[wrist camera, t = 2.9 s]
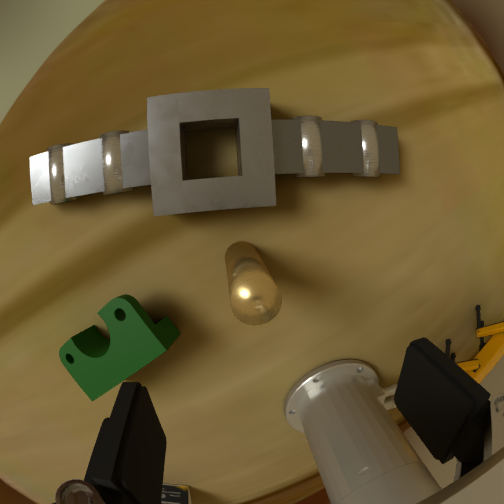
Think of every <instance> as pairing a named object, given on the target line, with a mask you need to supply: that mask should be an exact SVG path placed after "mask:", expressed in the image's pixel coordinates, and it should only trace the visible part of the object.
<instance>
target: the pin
mask: <svg viewBox="0 0 504 504" xmlns="http://www.w3.org/2000/svg"><path fill="white" fill-rule="evenodd" d="M225 262H226V270H227V278H228V286H229V294H230V301H231V308H232V311H233V313H234V315H235V316H236V317H237V319H239V320H240V321H241V322H243V323H245V324H249V325H261V324H264V323H267V322H269V321H270V320H272V319H273V318H274V317H275V316H276V315H277V314H278V312H279V310H280V308H281V304H282V297H281V293H280V291H279V289H278V287H277V286H276V284H275V282H274V280H273V279H272V277H271V275H270V273H269V272H268V270H267V268H266V266H265V264H264V263H263V261H262V259H261V257H260V256H259V254H258V252H257V250H256V249H255V247H254V246H253V245H252V244H250V243H248V242H243V241H240V242H236V243H234V244H232V245H231V246H230V247H229V248H228V249H227V251H226V254H225Z"/></svg>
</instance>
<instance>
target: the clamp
mask: <svg viewBox="0 0 504 504" xmlns="http://www.w3.org/2000/svg"><path fill="white" fill-rule="evenodd" d="M98 314H99V315H100V316H101V318H102V319H103V320H104V322H105V323H106V325H107V327H108V330H109V333H110V340H108V339H106V338H104V337H103V336H102V335H101V334H100V333H99V332H98V330H97V329H96V327H95V325H93V326H91V327H89V328H88V329H86V330H84V331H82V332H80V333H79V334H77V335H75V336H73V337H71V338H70V339H69V340H68V341H67V342H66V343H65V344H64V345H63V346H62V347H61V348H60V351H59V356H60V359H61V362H62V363H63V365H64V366H65V368H66V369H67V370H68V372H69V373H70V374H71V376H72V377H73V378H74V380H75V381H76V382H77V383H78V385H79V386H80V387H81V388H82V390H83V391H84V392H85V393H86V394H87V396H88V397H89V398H90V399H91V400H92V401H94V400H95V399H97V398H98V397H100V396H101V395H103V394H104V393H106V392H107V391H109V390H110V389H112V388H113V387H115V386H116V385H118V384H119V383H121V382H122V381H124V380H125V379H126V378H128V377H129V376H131V375H132V374H134V373H135V372H137V371H138V370H140V369H141V368H142V367H144V366H145V365H147V364H148V363H150V362H151V361H152V360H154V359H155V358H157V357H158V356H160V355H161V354H162V353H164V352H165V351H167V349H168V348H169V347H170V346H171V345H172V343H173V342H174V341H175V340H176V338H177V337H178V336H179V335H180V332H179V330H178V329H177V328H176V327H175V325H174V324H173V323H172V322H171V320H170V319H169V318H168V317H167V316H166V317H164V318H163V319H162V320H160V321H159V322H158V323H157V324H155V323H154V322H153V321H152V320H151V318H150V317H149V316H148V314H147V313H146V312H145V310H144V309H143V308H142V306H141V305H140V304H139V302H138V301H137V300H136V299H135V298H134V297H132V296H130V295H121V296H119V297H116V298H114V299H112V300H111V301H110V302H109V303H107V304H106V305H105V306H104V307H103V308H102V309H101V310H100V311H99V312H98Z"/></svg>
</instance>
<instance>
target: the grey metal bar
mask: <svg viewBox="0 0 504 504" xmlns="http://www.w3.org/2000/svg"><path fill="white" fill-rule="evenodd" d="M147 117H148V130H142V131H136V132H129V131H113V132H107V133H104V134H102V135H100V138H99V139H95V140H90V141H86V142H82V143H78V144H59V145H55V146H51V147H49V148H48V152H45V153H41V154H38V155H35V156H32V157H30V176H31V190H32V201H33V205H36V204H41V203H46V202H50V201H51V205H52V204H57V203H62V202H67V201H72V200H77V196H81V195H87V194H92V193H98V192H103V195H108V194H114V193H121V192H127V191H133V187H138V186H145V185H151V190H152V201H153V211H154V216H161V215H171V214H180V213H191V212H201V211H212V210H224V209H237V208H250V207H264V206H276V188H275V174H294V177H320V176H325V173H353V176H367V177H381V174H400V168H399V148H398V134H397V127H390V126H382V125H378V124H377V122H376V121H372V120H355V121H351V122H339V121H322V118H321V117H317V116H298V117H294V118H291V120H271V108H270V94H269V88H241V89H220V90H206V91H195V92H185V93H176V94H169V95H161V96H155V97H148V98H147ZM232 127H235V129H236V146H237V162H238V176H230V177H217V178H206V179H195V180H188V176H187V161H186V144H185V131H193V130H204V129H217V128H232Z"/></svg>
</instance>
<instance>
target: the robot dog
mask: <svg viewBox="0 0 504 504" xmlns="http://www.w3.org/2000/svg"><path fill="white" fill-rule="evenodd" d="M480 309H481V308H480V305H477V306H476V311H477V328H476V336H477V338H480V348H479V350H480V352H479V353H478V354H477V355H476V356H475V358H474V359H473V360H468V361H463V362H457V363H456V364H457V365H458V366H460V367H461V368H462V369H463V370H464V371H465V372H466V373H467V374H469V375H470V376H471V377H472V378H473V379H474V380H475V381H476V382H478V383H481V381H482V380H483V379H484V377H485V376H486V375H487V374H488V373H489V372H490V371H491V370H492V368H493V367H494V366H495V365H496V364H497V362H498V361H499V360H500V359H501V357H502V356H503V355H504V321H503V322H499V323H495V324H492V325H488V326H484V327H483V325H484V321H481V320H480ZM490 335H493V336H492V337H491V339H490V340H489V341H488V342H487V343H484V337H486V336H490ZM450 344H451V340H450V339H447V340H446V352H445V354H446V355H447V356H448V357H449V352H450ZM455 357H456V355H455V353H452V354H451V359H452V360H453V361H454V362H455Z"/></svg>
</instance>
